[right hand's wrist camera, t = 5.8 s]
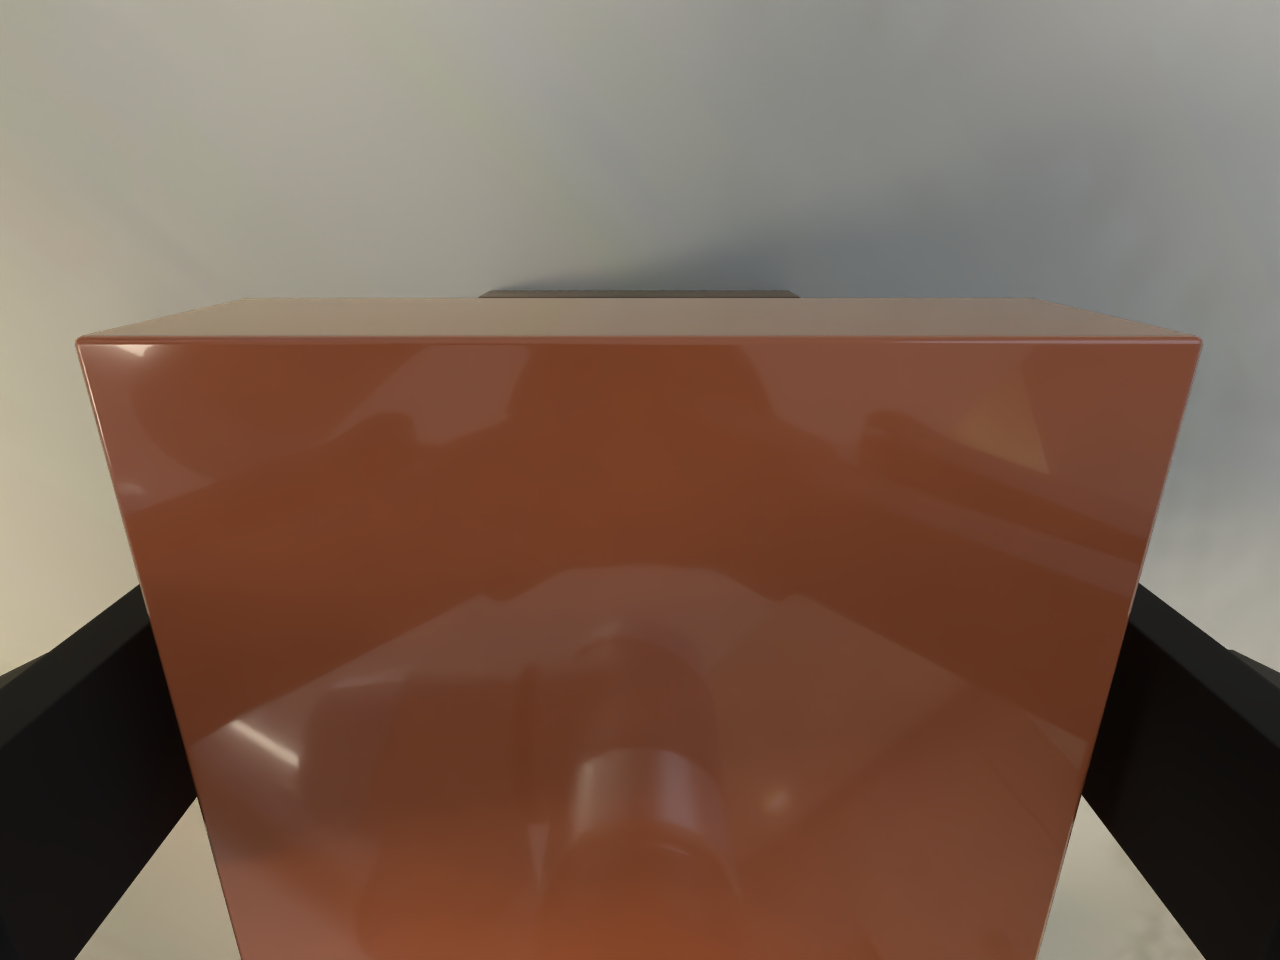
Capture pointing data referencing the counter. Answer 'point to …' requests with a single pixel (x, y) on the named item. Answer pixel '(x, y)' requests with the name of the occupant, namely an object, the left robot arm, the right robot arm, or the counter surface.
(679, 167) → the counter surface
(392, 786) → the glossy orange tile
